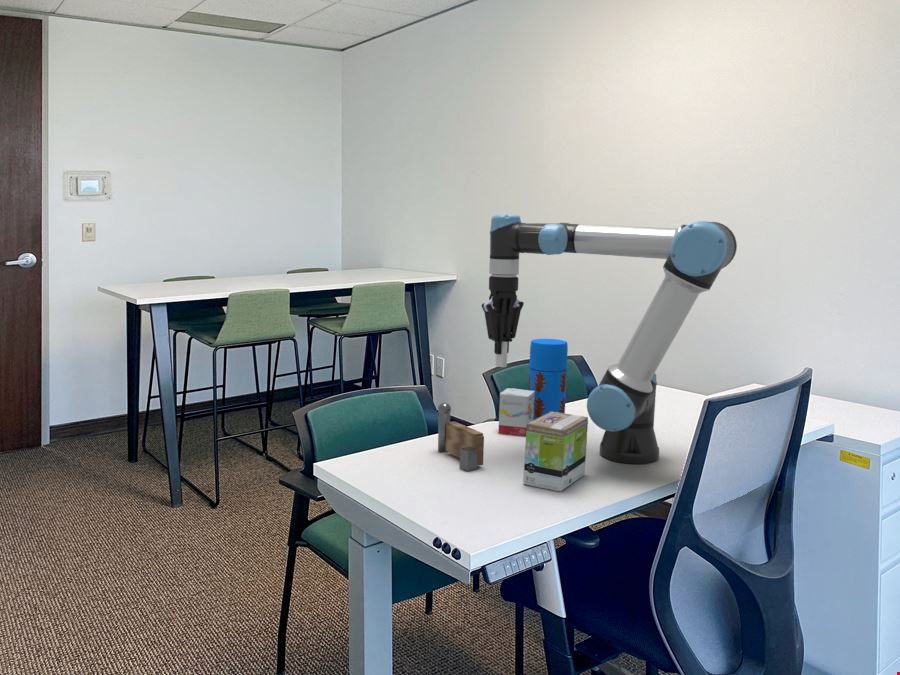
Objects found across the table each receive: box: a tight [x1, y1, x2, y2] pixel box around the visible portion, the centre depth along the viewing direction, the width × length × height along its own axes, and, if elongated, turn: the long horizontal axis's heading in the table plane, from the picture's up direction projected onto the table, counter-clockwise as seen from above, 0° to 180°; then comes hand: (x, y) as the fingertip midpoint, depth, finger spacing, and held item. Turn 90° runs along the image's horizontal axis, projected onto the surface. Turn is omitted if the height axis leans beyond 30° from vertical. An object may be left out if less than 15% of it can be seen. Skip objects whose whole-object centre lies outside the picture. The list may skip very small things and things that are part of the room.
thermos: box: [528, 338, 569, 420], centre depth 239 cm, size 11×11×25 cm
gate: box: [446, 420, 485, 467], centre depth 204 cm, size 14×2×8 cm, turn 33°
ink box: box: [498, 387, 535, 437], centre depth 232 cm, size 9×9×12 cm
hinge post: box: [437, 402, 452, 453], centre depth 212 cm, size 3×3×13 cm
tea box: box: [522, 411, 589, 492], centre depth 191 cm, size 15×10×15 cm
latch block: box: [459, 447, 478, 473], centre depth 198 cm, size 3×3×5 cm
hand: (501, 366), depth 212 cm, fingers closed
